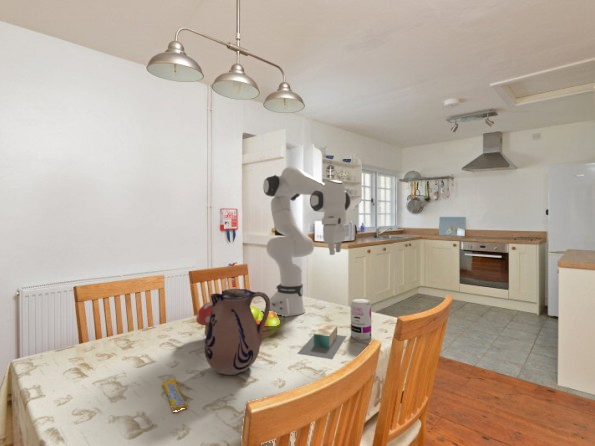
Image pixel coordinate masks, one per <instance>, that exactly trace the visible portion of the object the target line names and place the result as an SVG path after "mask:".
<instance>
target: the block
mask: <svg viewBox="0 0 595 446" xmlns="http://www.w3.org/2000/svg"><path fill="white" fill-rule="evenodd" d="M313 335H314V346H318V347H324V348H330V346H331V345H332V343H333V342H334V341H335V339H336V338H337V335H338V325H335V324H325V323H323V324H321V325H320V327H319V328H318V329H317V330H316V331H315V332H314V333H313Z"/></svg>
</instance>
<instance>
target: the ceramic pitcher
mask: <svg viewBox="0 0 595 446" xmlns="http://www.w3.org/2000/svg"><path fill="white" fill-rule="evenodd" d="M256 297H260V298H262V300H264V302H265V306H266V307H265V306H264V307H265V313H263V316H262V317H261V320H260V322H259V323H258V322H257V321H256V319H255V316H254V314H253V312H252V309H251V305H252V301H253V300H254V298H256ZM269 298H270V297H269V295H267V293H265V292H263V291H262V292H261V291H252V290H250V289H246V288H245V289H243V288H230V289H225V290H222V291H221V293H218V292H217V293H216V292H215V293H212V294H210V299H211V300H210V301H211V302H212V313H211V317H210V322H209V326H208V330H207V335H205V342H204V355H205V358H206V361H207V363H208V365H209V367H211V368H212V369H213V370H214V371H215V372H217V373H218V374H221V375H225V376H234V375H235V376H236V375H238V374H241V373H243V372H245V371H248V370H249V368H250V367H251V366H253V364H254V363H255V362H256V360H257V358H258V356H259V353H260V348H261V345H262V343H263V339H264V338H263V337H264V336H263V332H264V331H263V330H264V328H265V325H266V323H267V320H268V318H269V315H270V314H269V311H270V300H269Z"/></svg>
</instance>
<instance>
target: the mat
mask: <svg viewBox="0 0 595 446" xmlns="http://www.w3.org/2000/svg"><path fill="white" fill-rule="evenodd" d="M346 338H347V335H340V334H337V338H336V339H335V341H334V342H333V343H332V345H331V346H330V348H324V347H318V346H314V334H313V336H311V337H310V339H309V340H308V341H307V342H306V343H305V345H304V346H303V347H301V348H300V350H299V351H298V352H297V353H296V354H297V355H303V356H304V355H306V356H309V357H310V356H311V357H316V358H322V359H327V360H333V359H334V357H335V356H336V354H337V353H338V351H339V350H340V348H341V346H342V344H343V343H344V341H345V340H346Z"/></svg>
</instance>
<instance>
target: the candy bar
mask: <svg viewBox="0 0 595 446" xmlns="http://www.w3.org/2000/svg"><path fill="white" fill-rule="evenodd" d="M177 382H178V379H177V378H173V379H169V380H166V381H162V382H161V385H163V386H164V387H163V386H162V387H163V389H165V390H164V392H165V391H166V392H165V394H166V393H167V395H168V397H169V400H170V402H169V404H170V403H171V405H170V407H171V406H172V408H173V411H175V410H177V411H178V410H180V409H181V408H187V407H188V408H189V405H188V403H187V404H186V403H185V400H184V398H183V395H182V394H181V392H180V387H179V386H178V384H177ZM167 395H166V396H167ZM168 397H167V398H168ZM169 400H168V401H169ZM172 408H171V409H172ZM188 408H187V409H188Z"/></svg>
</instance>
